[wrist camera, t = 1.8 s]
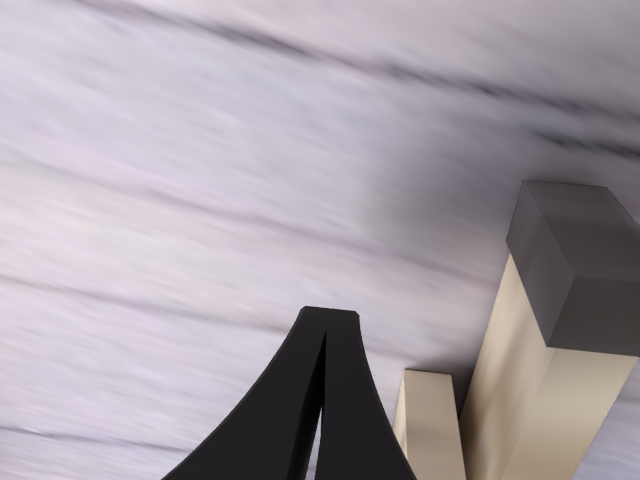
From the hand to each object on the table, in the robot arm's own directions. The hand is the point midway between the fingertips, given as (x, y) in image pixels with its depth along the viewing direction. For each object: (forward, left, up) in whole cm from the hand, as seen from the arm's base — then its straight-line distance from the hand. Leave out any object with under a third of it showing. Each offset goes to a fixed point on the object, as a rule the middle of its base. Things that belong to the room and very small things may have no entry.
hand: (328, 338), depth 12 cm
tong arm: (-3, -6, -3) cm, 7 cm away
